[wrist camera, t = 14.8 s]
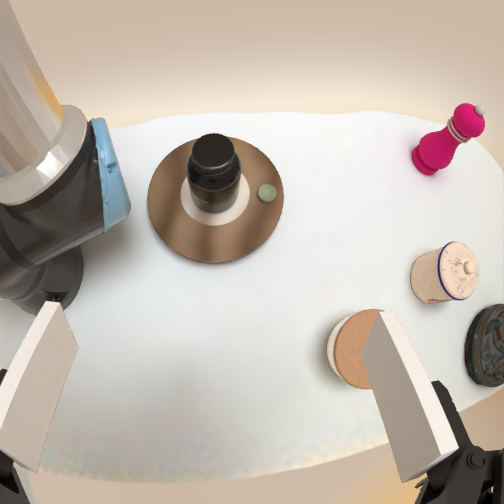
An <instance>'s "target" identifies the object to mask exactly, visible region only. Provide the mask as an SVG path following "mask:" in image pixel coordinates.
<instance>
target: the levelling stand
mask: <svg viewBox="0 0 504 504" xmlns="http://www.w3.org/2000/svg"><path fill="white" fill-rule="evenodd" d="M227 138H229V140H231V142H232V143H233V146H234V148H235V149H234V150H235V151H236V152H237V153H238V155H239V157H240V159H241V163H242V171H241V178H240V186H239V192H238V197H237V200H236V202H235V203H234V204H233V206H232V207H231V208H229V209H228V210H226V211H224V212H221V213H207V212H204V211H202V210H201V209H199V208H198V207H197V206H196V205H195V203H194V202H193V200H192V197H191V193H190V188H189V184H188V180H187V175H186V162H187V159H188V157H189V155H190V154H191V152H192V147H193V146H194V143H195V142H196V140H198V139H199V138H198V139H194V140H192V141H189V142H186V143H185V144H183V145H181V146H179V147H177V148H176V149H174V150H173V151H172V152H171V153H169V154H168V155H167V156H166V157H165V158H164V159H163V160H162V162H161V163H160V164H159V166H158V167H157V169H156V170H155V172H154V174H153V176H152V179H151V181H150V185H149V189H148V198H147V202H148V211H149V215H150V218H151V221H152V224H153V226H154V227H155V229H156V231H157V233H158V234H159V235H160V237H161V238H162V239H163V241H164V242H165V243H166V244H167V245H168V246H170V247H171V248H172V249H173V250H175V251H176V252H178V253H180V254H181V255H183V256H185V257H188V258H190V259H193V260H197V261H201V262H210V263H218V262H227V261H232V260H235V259H239V258H241V257H243V256H246V255H248V254H249V253H251V252H253V251H254V250H256V249H257V248H258V247H260V246H261V245H262V244H263V243H264V242H265V241H266V240H267V239H268V238H269V236H270V235H271V234H272V232H273V231H274V229H275V227H276V225H277V223H278V221H279V219H280V216H281V213H282V208H283V201H284V194H283V186H282V182H281V179H280V176H279V173H278V171H277V170H276V168H275V166H274V165H273V163H272V162H271V161H270V159H269V158H268V157H267V156H266V155H265V154H264V153H263V152H261V151H260V150H259V149H258V148H256V147H254V146H253V145H251V144H249V143H247V142H245V141H242V140H239V139H236V138H231V137H227Z"/></svg>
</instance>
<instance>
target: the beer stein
mask: <svg viewBox="0 0 504 504" xmlns="http://www.w3.org/2000/svg"><path fill="white" fill-rule="evenodd" d="M465 363H466V367H467V370H468V373H469V376H470V377H471V378H472V379H473V380H474V381H475V382H476V383H477V384H483V385H485V386H487V387H497V386H499V385H501V384H503V383H504V304H495V305H492V306H491V307H489V308H486V309H483V310H482V311H481V312H480V313H479V314H477V316H476V317H475V318H474V320H473V322H472V324H471V326H470V328H469V331H468V333H467V338H466V343H465Z"/></svg>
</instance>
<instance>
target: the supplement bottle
mask: <svg viewBox="0 0 504 504" xmlns="http://www.w3.org/2000/svg"><path fill="white" fill-rule="evenodd" d="M234 149H235V148H234V146H233V143H232V142H231V140H229V138H227V137H226V136H223V135H222V134H218V133H217V134H215V133H213V134H206V135H204V136H202V137H200V138H199V139H198V140H196V142H195V143H194V146H193V147H192V152H191V154H190V155H189V157H188V159H187V162H186V175H187V180H188V184H189V188H190V193H191V197H192V200H193V202H194V203H195V205H196V206H197V207H198V208H199V209H201V210H202V211H204V212H207V213H221V212H224V211H226V210H228V209H229V208H231V207H232V206H233V204H234V203H235V202H236V200H237V197H238V192H239V186H240V178H241V171H242V163H241V159H240V157H239V155H238V153H237V152H236V151H235V150H234Z"/></svg>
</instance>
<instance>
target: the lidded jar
mask: <svg viewBox="0 0 504 504" xmlns="http://www.w3.org/2000/svg"><path fill="white" fill-rule="evenodd" d="M379 312H384V311H383V310H378V309H369V310H364V311H361V312H357V313H354V314H352V315H349V316H348V317H346V318H344V319H343V320H342V321H340V322H339V323H338V324H337V325H336V327H335V328H334V329H333V331H332V333H331V335H330V337H329V340H328V344H327V356H328V360H329V363H330V365H331V367H332V369H333V370H334V372H335V373H336V374H337V375H338V376H339V377H340V378H341V379H343V380H344V381H346V382H347V383H348V384H350V385H352V386H354V387H357V388H360V389H372V387H371V384H370V382H369V379H368V376H367V373H366V370H365V368H364V365H363V362H362V359H361V357H360V354H361V352H362V349H363V347H364V345H365V343H366V341H367V338H368V336H369V334H370V332H371V329H372V327H373V325H374V322H375V320H376V317H377V315H378V313H379Z"/></svg>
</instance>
